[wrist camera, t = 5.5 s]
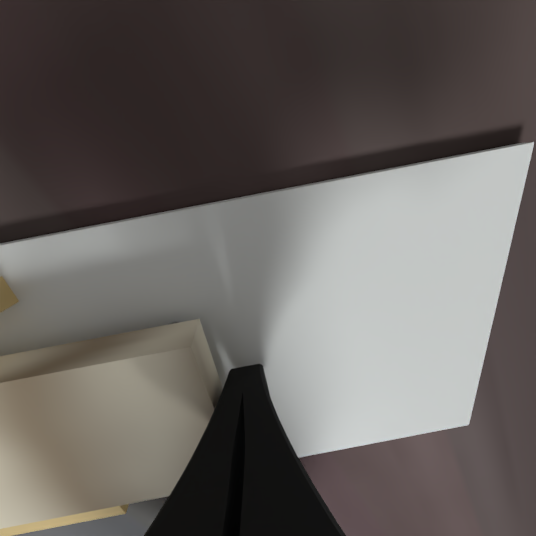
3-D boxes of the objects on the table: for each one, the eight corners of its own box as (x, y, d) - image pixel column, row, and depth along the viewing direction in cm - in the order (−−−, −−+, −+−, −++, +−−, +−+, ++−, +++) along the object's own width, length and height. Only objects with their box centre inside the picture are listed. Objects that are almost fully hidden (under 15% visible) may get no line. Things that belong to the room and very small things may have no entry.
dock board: (461, 416, 14) (493, 454, 12) (-95, 523, 14) (-146, 577, 12) (518, 143, 8) (594, 138, 7) (-407, 322, 8) (-589, 366, 7)
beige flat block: (203, 303, 9) (190, 346, 7) (242, 424, 12) (241, 481, 10) (-60, 352, 9) (-156, 412, 7) (40, 462, 12) (-6, 529, 10)
